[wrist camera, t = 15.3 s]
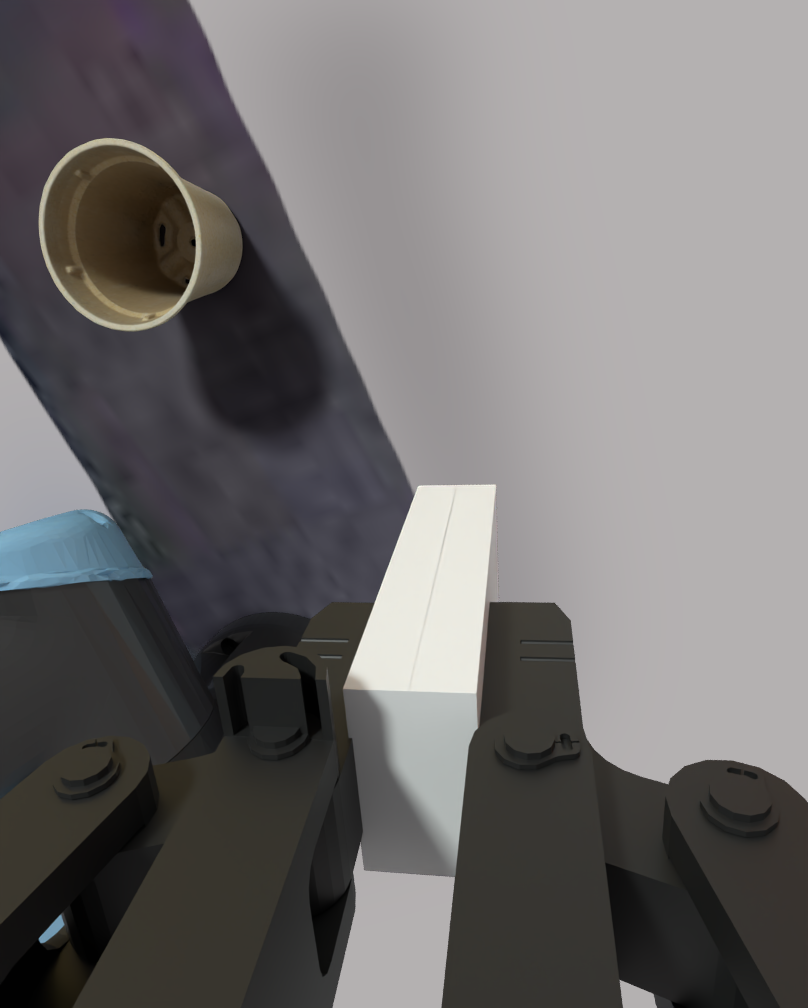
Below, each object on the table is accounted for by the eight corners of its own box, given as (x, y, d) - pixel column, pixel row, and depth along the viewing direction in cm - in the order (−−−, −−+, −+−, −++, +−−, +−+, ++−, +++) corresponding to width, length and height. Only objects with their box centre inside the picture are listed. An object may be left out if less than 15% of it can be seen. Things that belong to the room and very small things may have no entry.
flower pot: (245, 139, 44) (166, 112, 36) (287, 301, 46) (223, 309, 38) (112, 183, 46) (12, 167, 38) (159, 333, 49) (74, 348, 41)
